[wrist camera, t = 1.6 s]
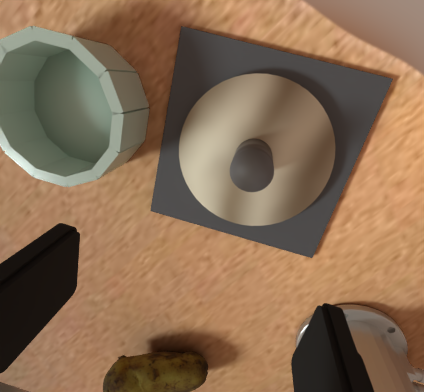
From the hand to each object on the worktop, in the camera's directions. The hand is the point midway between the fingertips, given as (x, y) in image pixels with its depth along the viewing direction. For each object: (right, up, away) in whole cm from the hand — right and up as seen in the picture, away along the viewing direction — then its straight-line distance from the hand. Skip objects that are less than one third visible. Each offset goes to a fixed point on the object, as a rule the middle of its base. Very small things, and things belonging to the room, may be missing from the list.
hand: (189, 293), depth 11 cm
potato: (-6, -19, +32) cm, 37 cm away
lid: (+5, +8, +18) cm, 20 cm away
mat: (+5, +8, +19) cm, 21 cm away
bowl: (-12, +13, +20) cm, 27 cm away
